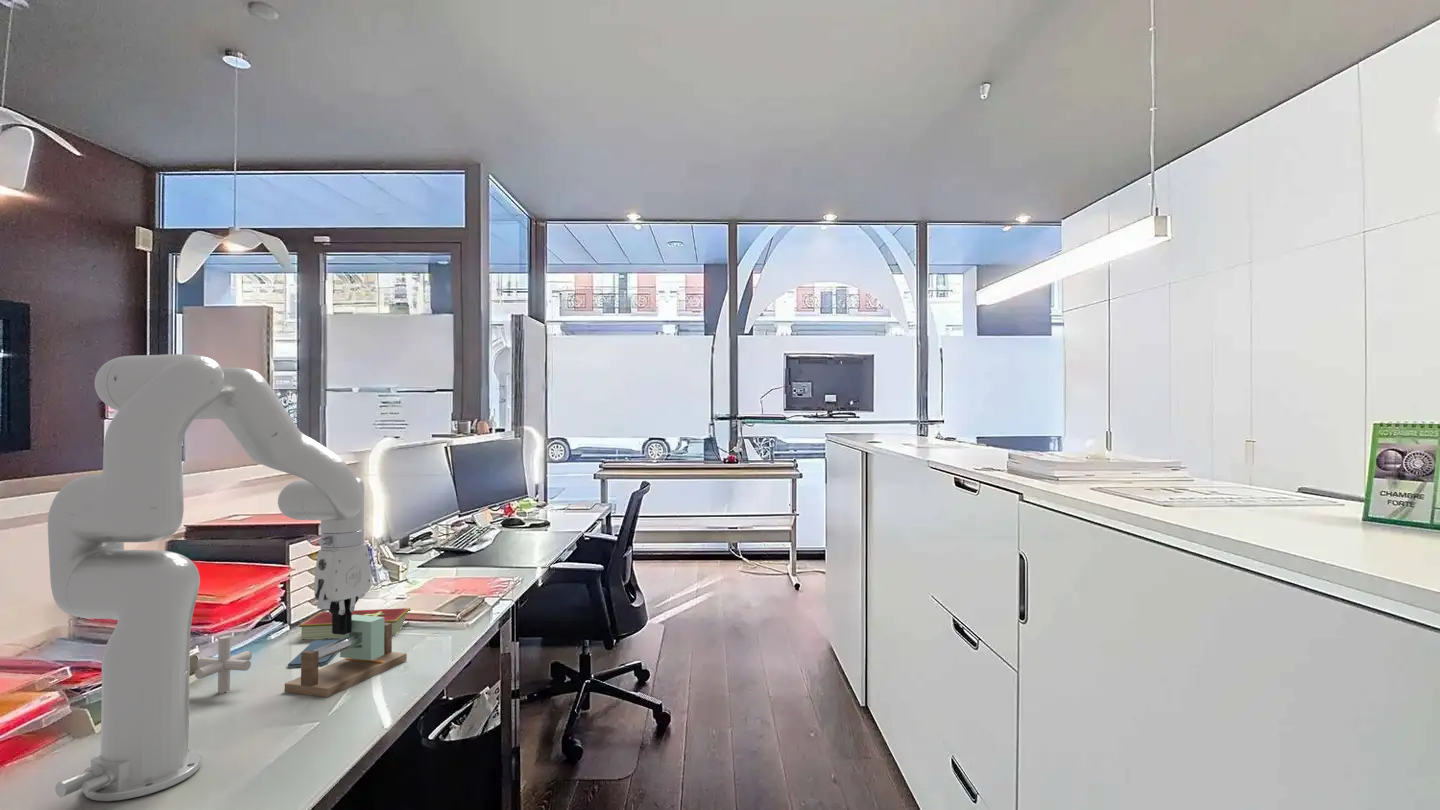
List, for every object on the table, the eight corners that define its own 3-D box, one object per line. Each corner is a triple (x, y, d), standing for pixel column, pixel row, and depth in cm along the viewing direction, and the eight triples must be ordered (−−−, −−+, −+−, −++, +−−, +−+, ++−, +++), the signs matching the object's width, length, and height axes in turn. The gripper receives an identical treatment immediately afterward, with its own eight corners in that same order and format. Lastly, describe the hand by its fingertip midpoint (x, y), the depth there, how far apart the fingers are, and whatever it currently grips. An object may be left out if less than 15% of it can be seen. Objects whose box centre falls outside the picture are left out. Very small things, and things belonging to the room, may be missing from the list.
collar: (370, 660, 136) (371, 622, 137) (340, 657, 138) (340, 619, 139) (384, 654, 140) (384, 617, 140) (353, 651, 142) (354, 614, 142)
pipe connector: (221, 704, 122) (222, 647, 122) (175, 700, 124) (176, 644, 124) (269, 683, 132) (269, 630, 132) (225, 679, 134) (226, 628, 134)
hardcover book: (320, 627, 170) (320, 610, 170) (410, 623, 173) (410, 606, 173) (298, 642, 158) (299, 624, 158) (395, 637, 161) (395, 619, 161)
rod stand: (327, 697, 125) (328, 654, 125) (284, 691, 128) (285, 649, 128) (406, 660, 144) (406, 623, 144) (367, 656, 147) (367, 620, 147)
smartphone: (285, 664, 140) (313, 639, 155) (285, 673, 140) (313, 647, 155) (326, 662, 141) (349, 637, 156) (326, 670, 141) (349, 644, 156)
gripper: (326, 547, 128) (325, 646, 128) (386, 534, 143) (385, 623, 142) (294, 545, 130) (293, 643, 130) (356, 533, 145) (356, 621, 144)
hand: (341, 632), depth 136 cm, fingers closed
